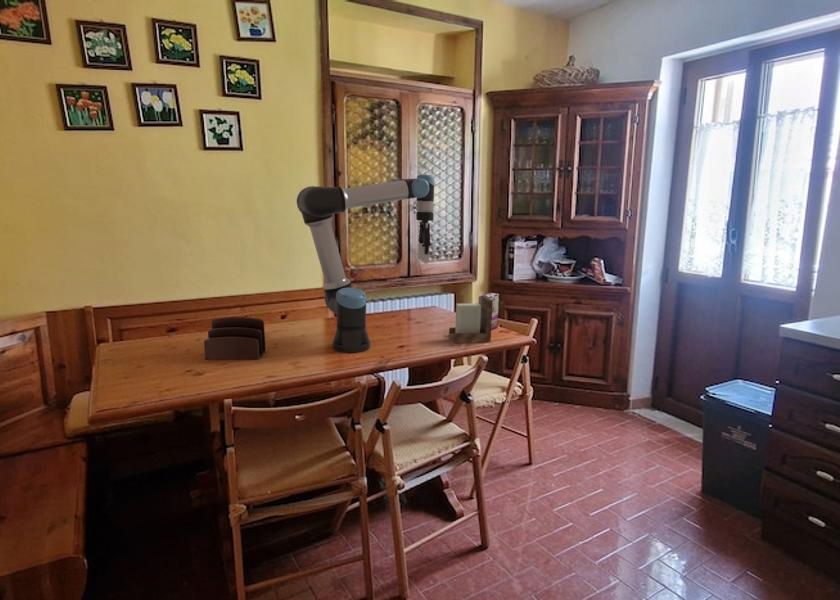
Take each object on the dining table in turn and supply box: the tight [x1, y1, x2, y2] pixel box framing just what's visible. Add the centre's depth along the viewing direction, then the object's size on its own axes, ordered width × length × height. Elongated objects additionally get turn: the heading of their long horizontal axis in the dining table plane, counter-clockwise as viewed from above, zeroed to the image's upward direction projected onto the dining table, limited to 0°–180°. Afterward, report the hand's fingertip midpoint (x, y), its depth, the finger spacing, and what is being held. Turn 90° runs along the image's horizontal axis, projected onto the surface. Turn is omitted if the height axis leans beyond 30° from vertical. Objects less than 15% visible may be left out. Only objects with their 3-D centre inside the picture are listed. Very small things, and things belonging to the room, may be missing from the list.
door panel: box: [454, 303, 481, 333], centre depth 220 cm, size 10×4×14 cm, turn 97°
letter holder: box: [203, 316, 267, 361], centre depth 190 cm, size 10×20×14 cm, turn 93°
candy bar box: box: [478, 292, 500, 331], centre depth 236 cm, size 11×5×16 cm, turn 143°
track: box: [448, 295, 493, 343], centre depth 220 cm, size 16×11×18 cm
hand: (423, 259), depth 226 cm, fingers open, 13 cm apart
